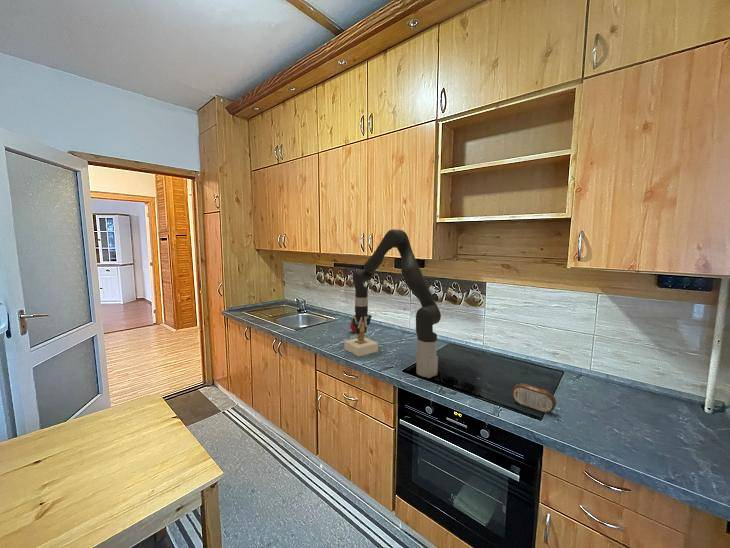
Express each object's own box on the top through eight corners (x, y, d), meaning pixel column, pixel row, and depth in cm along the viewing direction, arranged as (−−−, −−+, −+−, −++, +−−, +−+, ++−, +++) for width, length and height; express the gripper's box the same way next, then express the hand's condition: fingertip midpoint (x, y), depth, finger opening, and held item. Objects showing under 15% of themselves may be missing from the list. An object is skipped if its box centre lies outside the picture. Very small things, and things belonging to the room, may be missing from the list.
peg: (365, 339, 175) (366, 319, 174) (360, 341, 173) (360, 320, 171) (361, 337, 178) (361, 318, 177) (356, 339, 176) (356, 319, 175)
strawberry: (362, 332, 209) (362, 318, 208) (353, 334, 204) (353, 320, 203) (356, 330, 214) (356, 316, 212) (348, 332, 209) (348, 318, 207)
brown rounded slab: (555, 413, 114) (557, 392, 113) (553, 417, 112) (555, 396, 111) (512, 399, 124) (514, 380, 123) (510, 402, 122) (511, 382, 121)
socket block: (377, 351, 175) (377, 343, 174) (358, 356, 167) (358, 348, 166) (363, 344, 186) (363, 336, 186) (344, 349, 178) (344, 341, 177)
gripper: (355, 307, 166) (354, 337, 168) (375, 304, 174) (374, 332, 176) (347, 304, 172) (347, 333, 174) (367, 301, 180) (367, 329, 182)
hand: (361, 333), depth 175 cm, fingers closed on peg, 4 cm apart
